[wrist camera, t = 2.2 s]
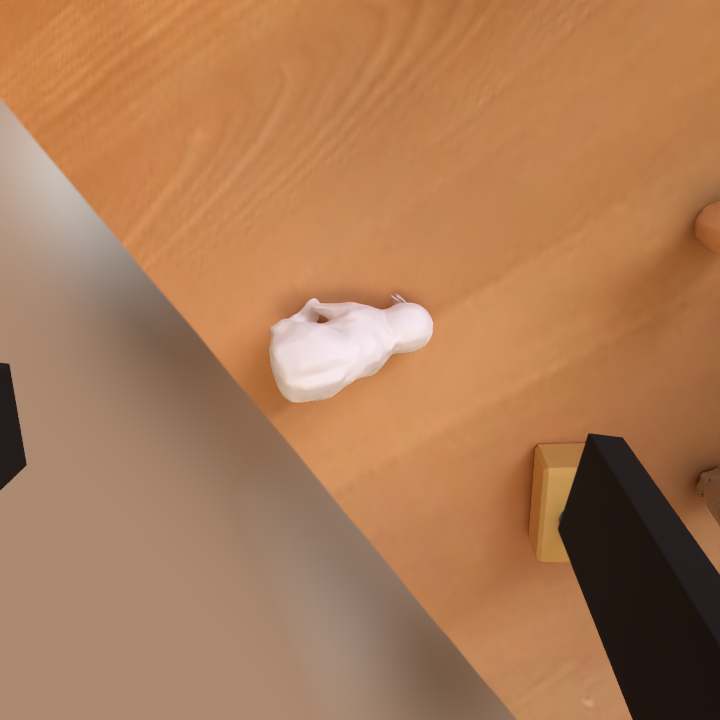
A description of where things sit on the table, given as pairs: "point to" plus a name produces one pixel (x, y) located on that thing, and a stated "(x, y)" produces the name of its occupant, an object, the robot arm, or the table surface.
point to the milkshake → (709, 226)
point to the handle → (711, 491)
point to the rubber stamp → (551, 497)
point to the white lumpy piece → (341, 345)
